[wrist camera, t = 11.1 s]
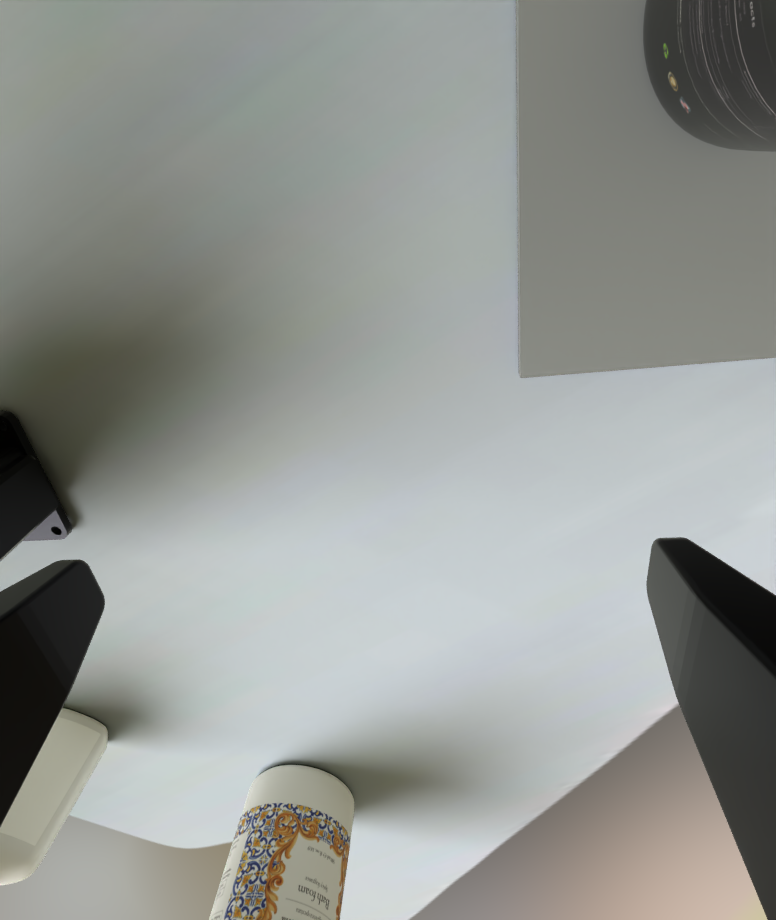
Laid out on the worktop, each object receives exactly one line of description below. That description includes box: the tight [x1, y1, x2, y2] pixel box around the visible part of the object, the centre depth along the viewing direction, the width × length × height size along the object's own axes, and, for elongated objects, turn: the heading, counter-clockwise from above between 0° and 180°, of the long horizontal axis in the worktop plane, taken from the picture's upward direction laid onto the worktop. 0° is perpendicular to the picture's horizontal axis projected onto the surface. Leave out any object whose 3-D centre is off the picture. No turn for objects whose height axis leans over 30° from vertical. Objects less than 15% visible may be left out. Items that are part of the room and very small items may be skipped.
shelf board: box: [516, 0, 776, 378], centre depth 15 cm, size 12×14×3 cm
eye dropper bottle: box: [0, 708, 108, 885], centre depth 29 cm, size 4×6×12 cm
